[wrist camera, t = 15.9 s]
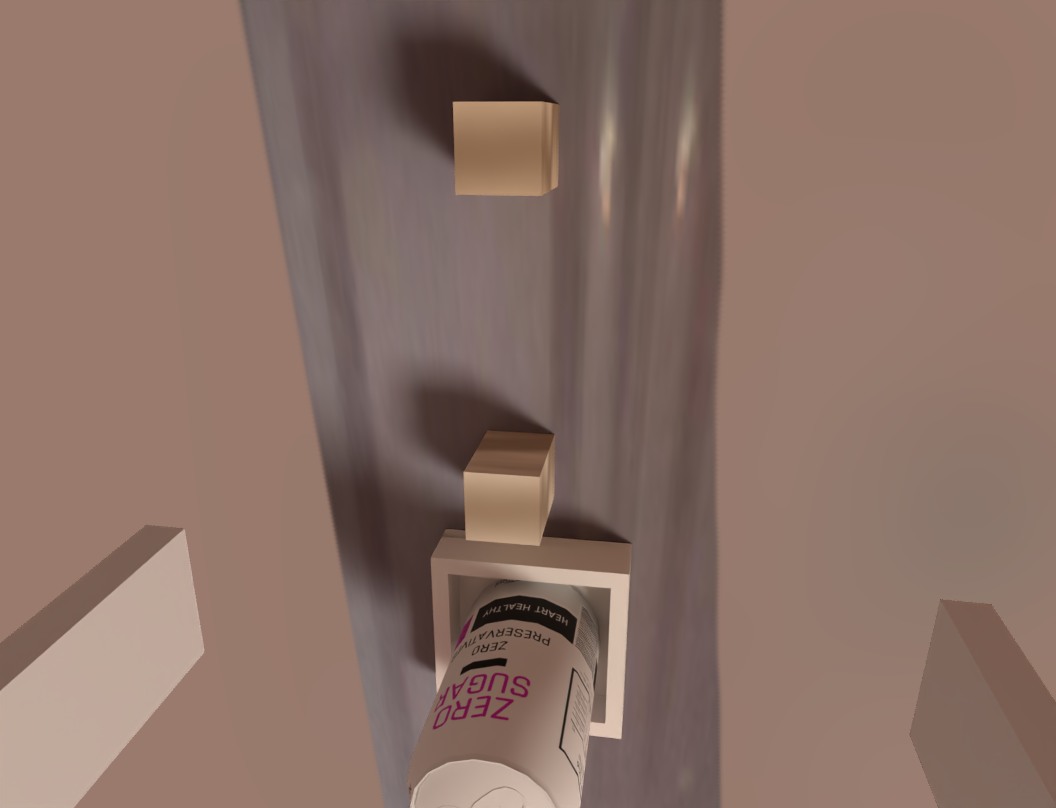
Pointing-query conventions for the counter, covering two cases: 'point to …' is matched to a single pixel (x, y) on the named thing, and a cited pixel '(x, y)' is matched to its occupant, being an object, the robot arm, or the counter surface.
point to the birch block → (509, 487)
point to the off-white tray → (557, 560)
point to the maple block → (505, 148)
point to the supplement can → (512, 704)
